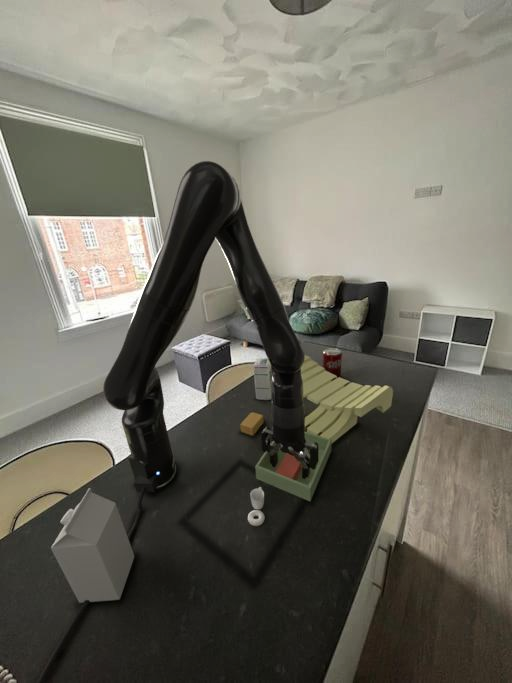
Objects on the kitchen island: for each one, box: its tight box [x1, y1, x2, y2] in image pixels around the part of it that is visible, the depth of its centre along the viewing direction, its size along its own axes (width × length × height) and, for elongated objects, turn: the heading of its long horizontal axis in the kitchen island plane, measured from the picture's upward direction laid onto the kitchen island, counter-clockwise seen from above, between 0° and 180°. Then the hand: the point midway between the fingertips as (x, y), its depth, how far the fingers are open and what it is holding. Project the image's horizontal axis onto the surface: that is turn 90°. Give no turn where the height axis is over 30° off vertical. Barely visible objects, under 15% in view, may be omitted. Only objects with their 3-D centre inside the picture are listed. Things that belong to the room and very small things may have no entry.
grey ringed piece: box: [247, 486, 266, 527], centre depth 63 cm, size 9×8×4 cm
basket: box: [254, 431, 332, 502], centre depth 73 cm, size 17×14×4 cm
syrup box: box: [252, 357, 272, 401], centre depth 102 cm, size 6×6×14 cm
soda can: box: [322, 347, 343, 378], centre depth 112 cm, size 7×7×12 cm
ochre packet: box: [239, 411, 265, 436], centre depth 88 cm, size 7×4×3 cm, turn 150°
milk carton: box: [50, 487, 135, 604], centre depth 48 cm, size 7×7×19 cm
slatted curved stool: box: [301, 354, 394, 445], centre depth 85 cm, size 30×16×18 cm, turn 39°
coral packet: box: [275, 454, 303, 480], centre depth 70 cm, size 7×4×3 cm, turn 150°
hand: (289, 470), depth 69 cm, fingers open, 7 cm apart
